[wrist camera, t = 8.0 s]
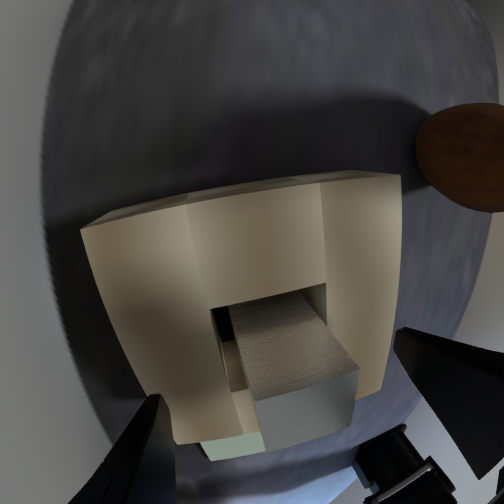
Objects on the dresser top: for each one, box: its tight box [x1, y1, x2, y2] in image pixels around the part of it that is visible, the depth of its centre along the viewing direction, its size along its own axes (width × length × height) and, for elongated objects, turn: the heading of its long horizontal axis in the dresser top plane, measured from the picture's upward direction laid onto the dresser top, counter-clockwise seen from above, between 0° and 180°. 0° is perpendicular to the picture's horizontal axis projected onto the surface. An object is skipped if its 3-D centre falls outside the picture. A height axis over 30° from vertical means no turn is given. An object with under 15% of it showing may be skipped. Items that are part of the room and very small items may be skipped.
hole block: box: [80, 170, 402, 445], centre depth 13 cm, size 12×12×4 cm
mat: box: [200, 431, 266, 461], centre depth 18 cm, size 10×8×1 cm
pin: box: [227, 290, 360, 453], centre depth 11 cm, size 3×3×8 cm
